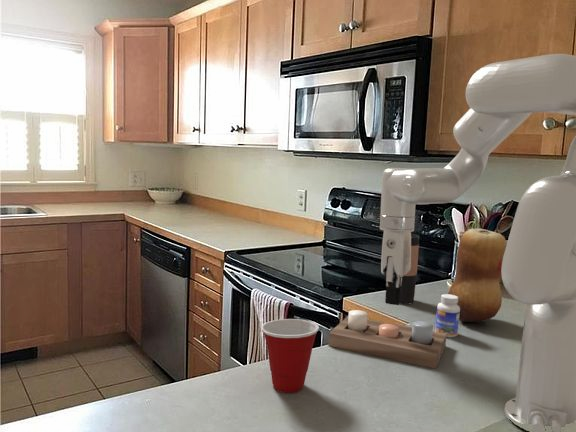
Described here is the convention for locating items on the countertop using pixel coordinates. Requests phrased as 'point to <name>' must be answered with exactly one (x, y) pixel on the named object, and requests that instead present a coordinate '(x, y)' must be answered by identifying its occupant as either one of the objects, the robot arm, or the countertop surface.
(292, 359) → the plastic cup
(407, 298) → the travel mug
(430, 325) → the slate button
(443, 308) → the pill bottle
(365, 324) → the cream button
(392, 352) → the walnut panel
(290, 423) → the countertop surface
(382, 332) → the terracotta button
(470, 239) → the butternut squash
